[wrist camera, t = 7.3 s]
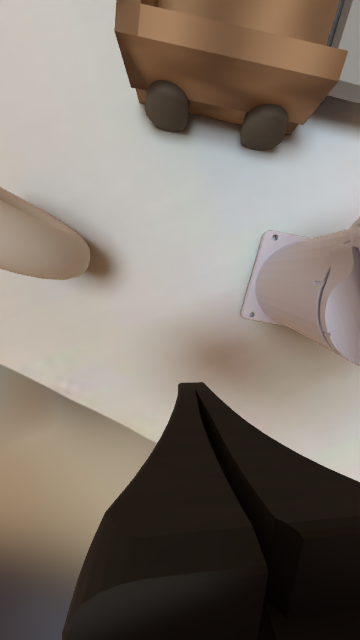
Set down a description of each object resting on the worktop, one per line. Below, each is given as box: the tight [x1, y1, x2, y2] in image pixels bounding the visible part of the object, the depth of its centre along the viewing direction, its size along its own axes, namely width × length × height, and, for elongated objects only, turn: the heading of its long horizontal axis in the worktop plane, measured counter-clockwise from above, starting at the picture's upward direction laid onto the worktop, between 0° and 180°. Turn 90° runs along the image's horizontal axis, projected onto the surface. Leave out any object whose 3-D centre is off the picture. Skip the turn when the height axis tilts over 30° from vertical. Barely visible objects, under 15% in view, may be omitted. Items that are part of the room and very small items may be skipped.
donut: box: [0, 187, 90, 280], centre depth 12 cm, size 10×4×10 cm, turn 58°
